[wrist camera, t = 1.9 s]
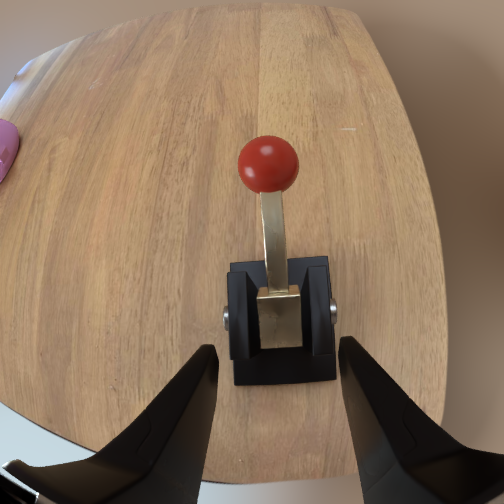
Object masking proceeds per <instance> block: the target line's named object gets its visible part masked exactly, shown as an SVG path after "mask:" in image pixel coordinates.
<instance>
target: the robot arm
mask: <svg viewBox="0 0 504 504" xmlns="http://www.w3.org/2000/svg"><path fill="white" fill-rule="evenodd" d="M338 359H339V367H340V376H341V386H342V394H343V399H344V404H345V408H346V413H347V417H348V422H349V426H350V431H351V435H352V440H353V445H354V450H355V455H356V460H357V465H358V470H359V475H360V481H361V487H362V492H363V494H364V495H363V498H364V504H504V454H497V453H491V452H486V451H480V450H475V449H471V448H468V447H466V446H464V445H462V444H461V443H459V442H458V441H457V440H455V439H454V438H453V437H452V436H451V435H449V434H448V433H447V432H446V431H445V430H443V429H442V428H441V427H440V426H439V425H437V424H436V423H435V422H434V421H433V420H432V419H431V418H429V417H428V416H427V415H426V414H425V413H424V412H423V411H422V410H421V409H420V408H419V407H418V406H417V405H416V404H415V403H414V401H413V400H412V399H411V398H409V396H408V395H407V394H406V393H405V392H404V391H403V390H402V389H401V387H400V386H399V385H398V384H397V383H396V382H395V381H394V380H393V379H392V378H391V377H390V376H389V375H388V373H387V372H386V371H385V370H384V369H383V368H382V367H381V366H380V365H379V364H378V363H377V362H376V361H375V360H374V358H373V357H372V356H371V355H370V354H369V353H368V352H367V351H366V350H365V349H364V348H363V347H362V346H361V345H360V344H359V342H358V341H357V340H356V339H355V338H354V337H353V336H345V337H341V338H340V344H339V351H338ZM218 372H219V359H218V356H217V353H216V349H215V346H214V345H212V344H203V345H201V346H200V348H199V349H198V350H197V351H196V352H195V353H194V354H193V356H192V357H191V358H190V359H189V360H188V361H187V362H186V364H185V365H184V366H183V367H182V368H181V369H180V370H179V371H178V373H177V374H176V375H175V376H174V377H173V378H172V379H171V380H170V382H169V383H168V384H167V385H166V386H165V387H164V388H163V389H162V391H161V392H160V393H159V394H158V395H157V396H156V397H155V398H154V399H153V401H152V402H151V403H150V404H149V405H148V406H147V407H146V409H144V410H143V411H142V413H141V414H140V415H139V416H138V417H137V418H136V419H135V420H134V421H133V422H132V423H131V424H130V425H129V426H128V427H127V428H126V429H125V430H124V431H122V432H121V433H120V434H119V435H118V436H117V437H115V438H114V439H113V440H112V441H111V442H110V443H108V444H107V445H106V446H105V447H104V448H102V449H101V450H100V451H99V452H97V453H96V454H95V455H93V456H91V457H89V458H87V459H84V460H80V461H74V462H69V463H64V464H58V465H52V466H45V467H33V466H29V465H27V464H26V463H24V462H22V461H21V460H18V459H16V460H13V461H10V462H7V463H6V464H4V465H3V466H2V468H3V469H5V470H6V471H7V472H9V473H10V474H11V475H12V476H14V477H15V478H17V479H18V480H20V481H21V482H23V483H24V484H25V485H27V486H29V487H30V488H32V489H33V490H35V491H36V492H38V493H37V495H35V494H34V493H32V492H30V491H28V490H27V489H25V488H23V487H22V486H20V485H18V484H17V483H15V482H14V481H12V480H10V479H9V478H7V477H6V476H4V475H3V474H1V473H0V504H197V499H198V495H199V489H200V485H201V479H202V474H203V469H204V464H205V458H206V453H207V448H208V443H209V438H210V433H211V428H212V422H213V417H214V412H215V407H216V401H217V387H218Z"/></svg>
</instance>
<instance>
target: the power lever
mask: <svg viewBox="0 0 504 504" xmlns="http://www.w3.org/2000/svg"><path fill="white" fill-rule="evenodd" d="M298 171H299V160H298V156H297V154H296V152H295V150H294V149H293V147H292V146H291V145H290V144H289V143H288V142H287V141H285V140H284V139H282V138H279V137H276V136H270V135H268V136H260V137H257V138H255V139H253V140H251V141H250V142H248V143H247V144H246V145H245V146H244V148H243V149H242V151H241V153H240V155H239V159H238V172H239V175H240V178H241V180H242V181H243V183H244V184H245V185H246V186H247V187H248V188H249V189H250V190H252V191H253V192H255V193H258V194H260V201H261V213H262V225H263V237H264V249H265V262H266V274H267V287H260V289H259V292H258V295H257V298H256V302H257V314H258V325H259V337H260V348H261V349H265V348H284V347H298V346H303V333H302V308H301V294H300V290H299V287H298V285H289V280H288V265H287V251H286V237H285V225H284V213H283V201H282V192H284V191H286V190H287V189H288V188H289V187H290V186H291V185H292V184H293V183H294V181H295V180H296V178H297V175H298Z"/></svg>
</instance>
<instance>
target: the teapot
mask: <svg viewBox="0 0 504 504" xmlns="http://www.w3.org/2000/svg"><path fill="white" fill-rule="evenodd" d="M18 147H19V134H18V129H17V127H16V126H15V125H13V124H12V123H10V122H8V121H6V120H3V119H0V183H1V181H2V180H3V178H4V177H5V175H6V174H7V172H8V170H9V169H10V167H11V165H12V163H13V161H14V159H15V156H16V154H17V151H18Z"/></svg>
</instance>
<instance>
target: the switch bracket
mask: <svg viewBox="0 0 504 504" xmlns="http://www.w3.org/2000/svg"><path fill="white" fill-rule="evenodd" d="M287 265H288V280H289V285H298V287H299V290H300V294H301V308H302V333H303V346H298V347H284V348H265V349H261V348H260V337H259V325H258V314H257V302H256V298H257V295H258V292H259V289H260V287H267V274H266V262H265V260H264V261H250V262H236V263H230V272H228V273H227V293H228V306H225V307H224V310H223V323H224V328H225V330H226V331H229V355H230V360H233V371H234V385H235V386H246V385H279V384H296V383H309V382H320V381H329V380H336V379H337V376H336V351H335V333H334V324H336V322H337V306H336V301H335V299H332V293H331V283H330V273H329V263H328V256H318V257H305V258H291V259H287Z"/></svg>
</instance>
